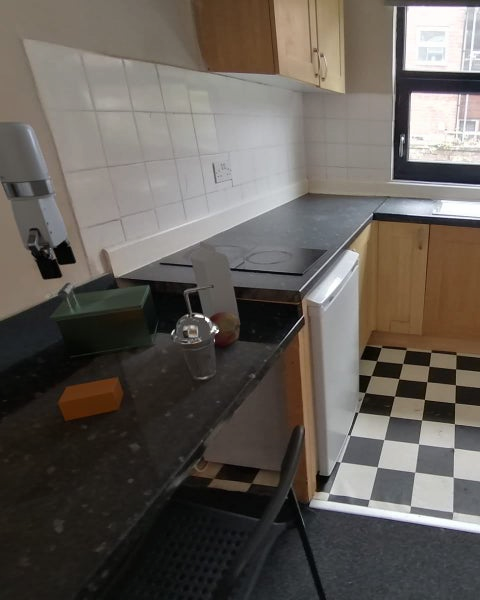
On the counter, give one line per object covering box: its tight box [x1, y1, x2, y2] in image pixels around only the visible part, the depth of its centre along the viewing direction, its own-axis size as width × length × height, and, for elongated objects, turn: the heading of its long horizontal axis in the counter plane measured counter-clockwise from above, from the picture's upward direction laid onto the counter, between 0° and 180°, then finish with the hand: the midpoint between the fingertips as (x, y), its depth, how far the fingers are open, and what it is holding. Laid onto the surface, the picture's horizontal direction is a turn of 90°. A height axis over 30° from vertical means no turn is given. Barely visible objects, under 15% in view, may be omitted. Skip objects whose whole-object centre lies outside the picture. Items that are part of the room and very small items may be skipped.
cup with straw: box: [170, 285, 219, 382], centre depth 79 cm, size 8×9×20 cm
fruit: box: [209, 312, 241, 348], centre depth 93 cm, size 8×8×8 cm
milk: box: [190, 241, 241, 326], centre depth 99 cm, size 6×6×22 cm
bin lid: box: [49, 282, 151, 321], centre depth 91 cm, size 17×13×5 cm
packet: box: [57, 376, 125, 422], centre depth 73 cm, size 8×5×4 cm, turn 113°
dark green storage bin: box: [55, 287, 160, 361], centre depth 94 cm, size 16×13×10 cm
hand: (60, 270), depth 87 cm, fingers open, 9 cm apart
